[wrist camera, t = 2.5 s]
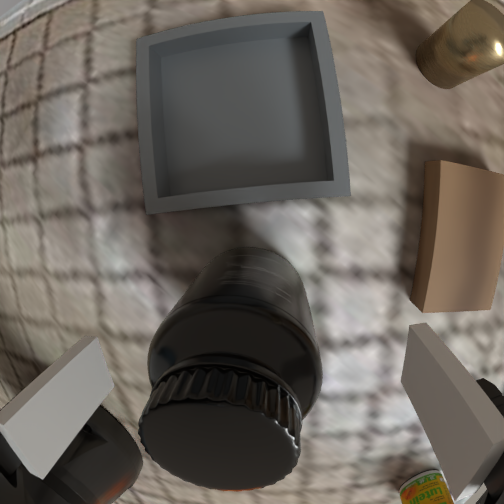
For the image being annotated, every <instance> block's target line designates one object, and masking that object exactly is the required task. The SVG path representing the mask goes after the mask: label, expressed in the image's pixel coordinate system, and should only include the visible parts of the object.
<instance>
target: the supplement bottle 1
mask: <svg viewBox="0 0 504 504" xmlns="http://www.w3.org/2000/svg"><path fill="white" fill-rule="evenodd" d="M147 365H148V375H149V380H150V383H151V386H152V392H151V395H150V399H149V400H148V402H147V404H146V406H145V408H144V410H143V412H142V415H141V417H140V419H139V423H138V424H139V430H138V434H139V436H140V437H141V443H142V445H143V446H144V447H145V451H146V452H147V453H148V454H149V455H150V456H151V458H152V460H154V461H155V462H156V463H158V464H159V465H160V467H161V468H163V469H165V470H167V471H168V472H170V473H171V474H172V475H174V476H177V477H179V478H181V479H182V480H184V481H187V482H190V483H193V484H195V485H197V486H203V487H206V488H209V489H217V490H222V491H242V490H247V491H250V490H253V489H259V488H264V487H265V486H268V485H273V484H275V483H276V482H277V481H279V480H282V479H284V478H285V476H286V475H288V474H290V473H291V472H292V468H294V467H295V466H296V465H297V462H298V458H299V456H300V452H301V447H300V432H301V428H302V420H303V419H304V418H305V417H306V416H307V415H308V413H309V412H310V411H311V409H312V408H313V406H314V404H315V403H316V400H317V398H318V396H319V393H320V390H321V386H322V378H323V372H322V362H321V357H320V352H319V347H318V342H317V338H316V334H315V329H314V325H313V320H312V316H311V312H310V307H309V303H308V299H307V295H306V291H305V288H304V285H303V282H302V280H301V278H300V276H299V274H298V273H297V271H296V270H295V269H294V267H293V266H292V265H291V264H290V263H289V262H287V261H286V260H285V259H284V258H282V257H281V256H279V255H277V254H276V253H273V252H271V251H268V250H265V249H261V248H255V247H242V248H236V249H232V250H229V251H226V252H224V253H222V254H220V255H219V256H217V257H216V258H214V259H213V260H212V261H211V262H210V263H208V264H207V266H206V267H205V268H204V269H203V270H202V271H201V273H200V274H199V275H198V276H197V278H196V279H195V280H194V281H193V283H192V284H191V285H190V287H189V288H188V289H187V291H186V292H185V293H184V294H183V296H182V297H181V298H180V300H179V301H178V302H177V304H176V305H175V306H174V307H173V309H172V310H171V311H170V313H169V314H168V315H167V317H166V318H165V319H164V321H163V322H162V323H161V325H160V326H159V328H158V330H157V331H156V333H155V335H154V337H153V339H152V341H151V344H150V347H149V352H148V361H147Z"/></svg>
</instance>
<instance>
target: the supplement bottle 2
mask: <svg viewBox="0 0 504 504" xmlns="http://www.w3.org/2000/svg"><path fill="white" fill-rule="evenodd" d="M399 493H400V497H401V501H402V504H454V503H453V500H452V498H451V495H450V493H449V491H448V488H447V486H446V483H445V481H444V478H443V476H442V474H441V472H440V471H437V470H430V471H426V472H423V473H420V474H418V475H416V476H414V477H413V478H411V479H410V480H408V481H407V482H406V483H404V484H403V485H402V487H401V488H400V490H399Z"/></svg>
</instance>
